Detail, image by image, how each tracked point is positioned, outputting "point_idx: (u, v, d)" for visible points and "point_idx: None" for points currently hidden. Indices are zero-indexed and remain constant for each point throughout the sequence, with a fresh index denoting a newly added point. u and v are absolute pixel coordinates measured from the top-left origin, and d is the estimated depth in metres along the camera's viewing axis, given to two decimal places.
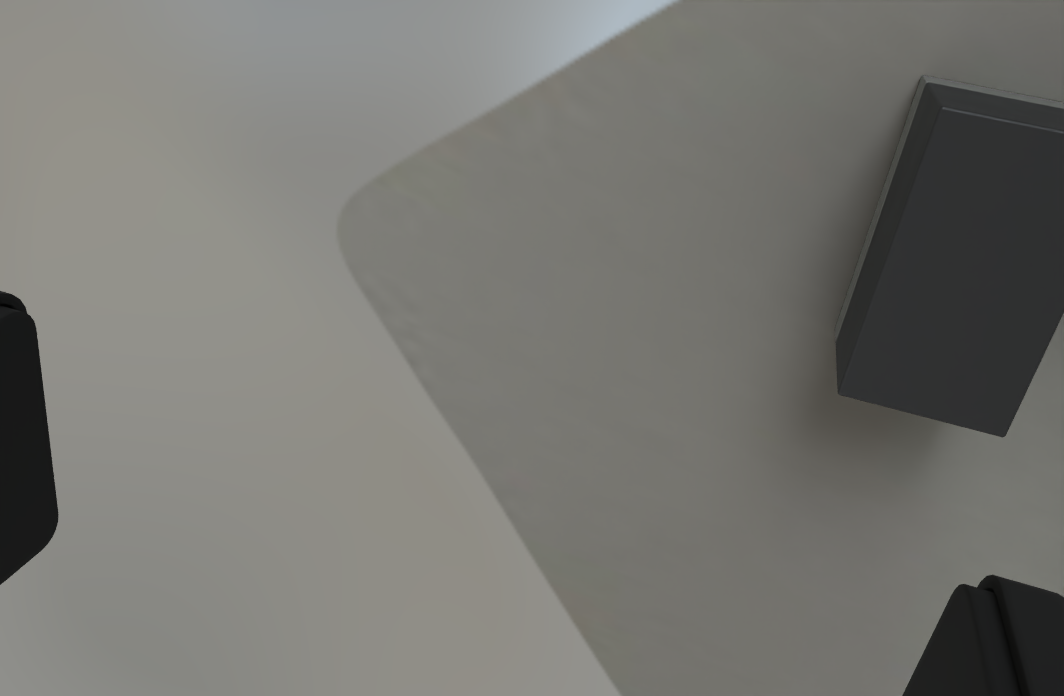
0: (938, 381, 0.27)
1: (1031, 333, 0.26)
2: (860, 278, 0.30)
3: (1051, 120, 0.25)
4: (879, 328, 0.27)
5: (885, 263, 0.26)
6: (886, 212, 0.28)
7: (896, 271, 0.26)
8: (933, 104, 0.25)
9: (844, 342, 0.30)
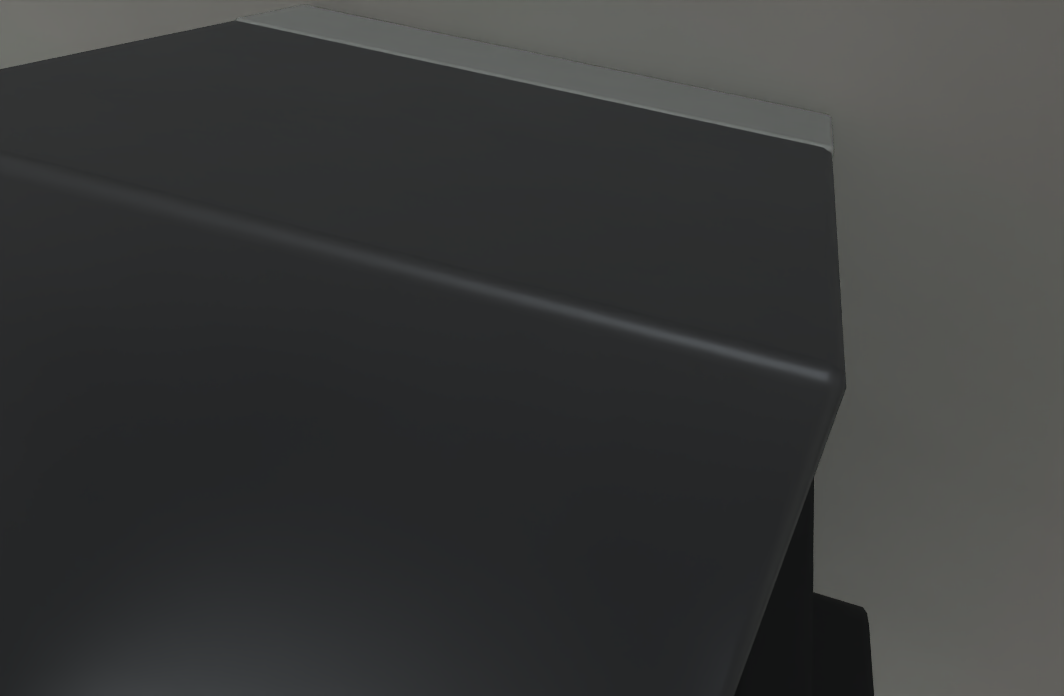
0: None
1: None
2: None
3: (474, 180, 0.05)
4: None
5: None
6: None
7: None
8: None
9: None
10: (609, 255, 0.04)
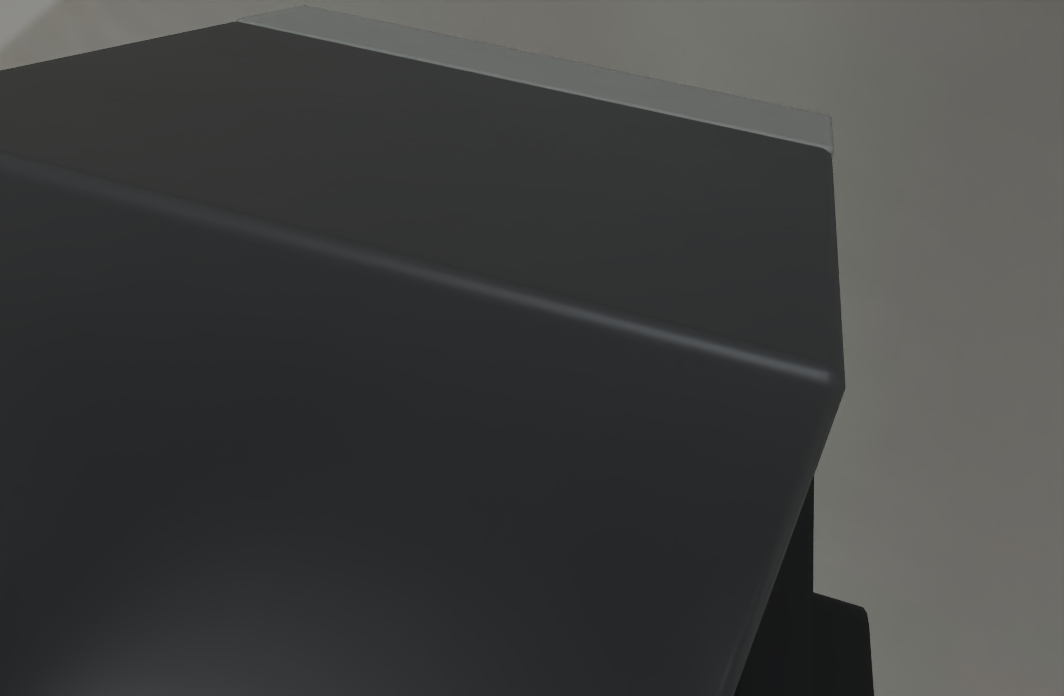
0: None
1: None
2: None
3: (475, 180, 0.05)
4: None
5: None
6: None
7: None
8: None
9: None
10: (611, 255, 0.04)
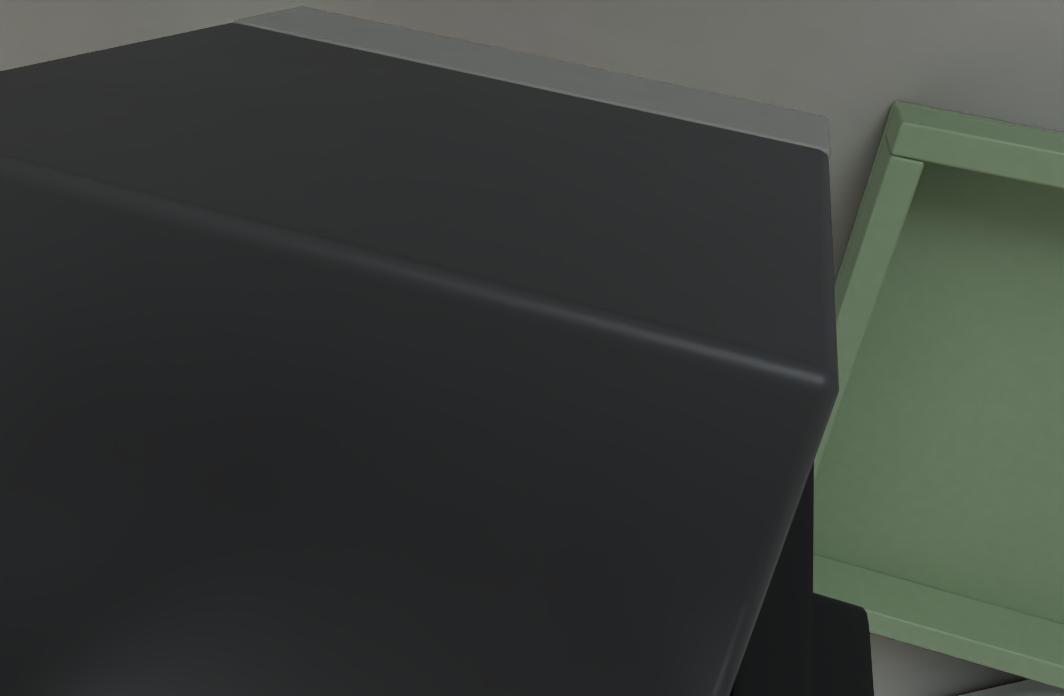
0: None
1: None
2: None
3: (470, 182, 0.05)
4: None
5: None
6: None
7: None
8: None
9: None
10: (605, 257, 0.04)
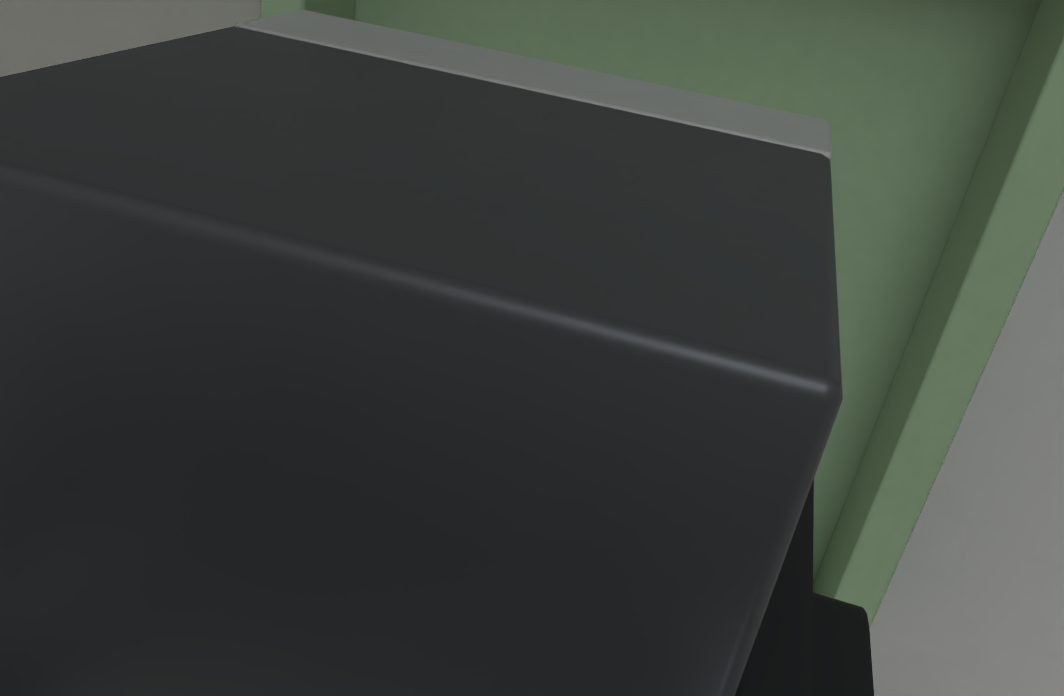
0: None
1: None
2: None
3: (472, 188, 0.05)
4: None
5: None
6: None
7: None
8: None
9: None
10: (607, 266, 0.04)
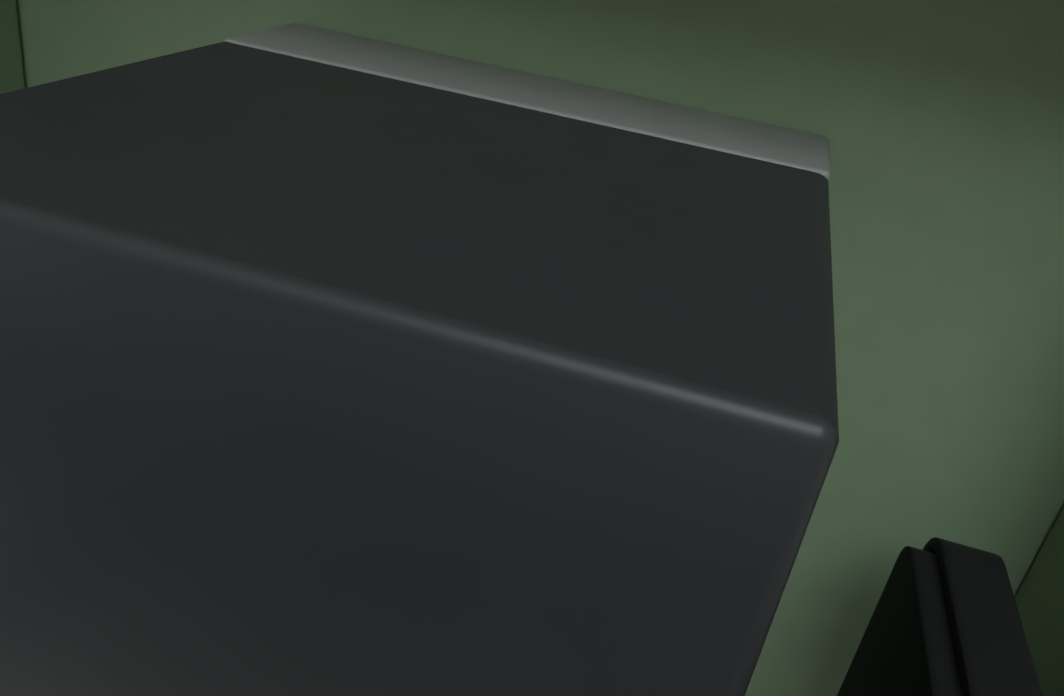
0: None
1: None
2: None
3: (461, 215, 0.05)
4: None
5: None
6: None
7: None
8: None
9: None
10: (596, 297, 0.04)
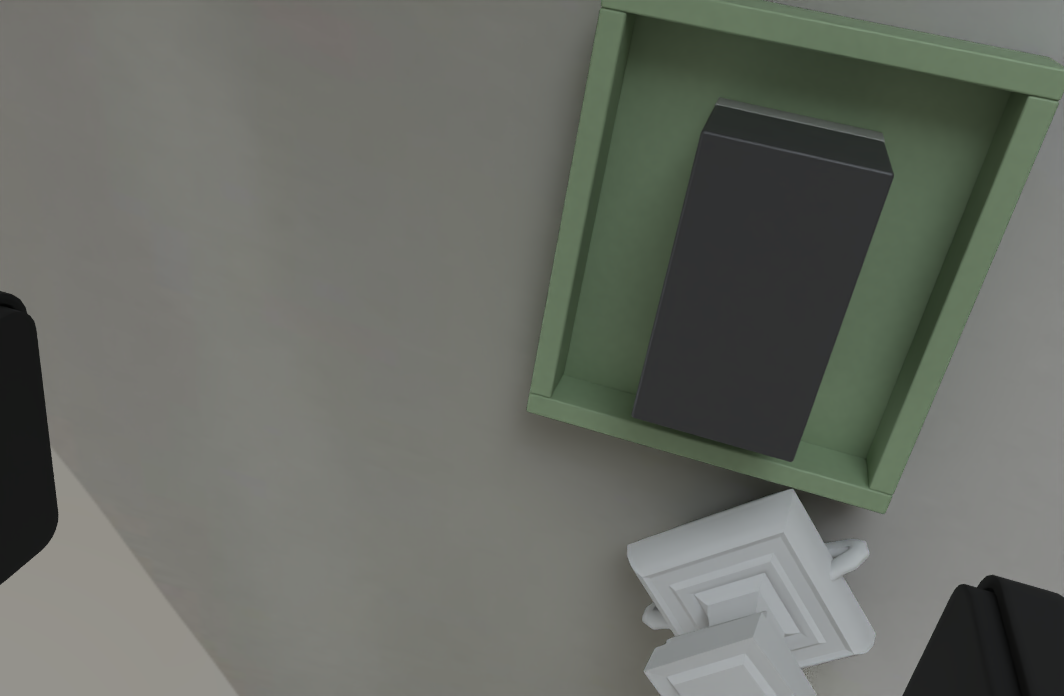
0: (725, 405, 0.27)
1: (807, 358, 0.26)
2: None
3: (817, 145, 0.25)
4: (664, 351, 0.27)
5: (663, 287, 0.26)
6: None
7: (675, 294, 0.26)
8: None
9: None
10: (850, 157, 0.24)
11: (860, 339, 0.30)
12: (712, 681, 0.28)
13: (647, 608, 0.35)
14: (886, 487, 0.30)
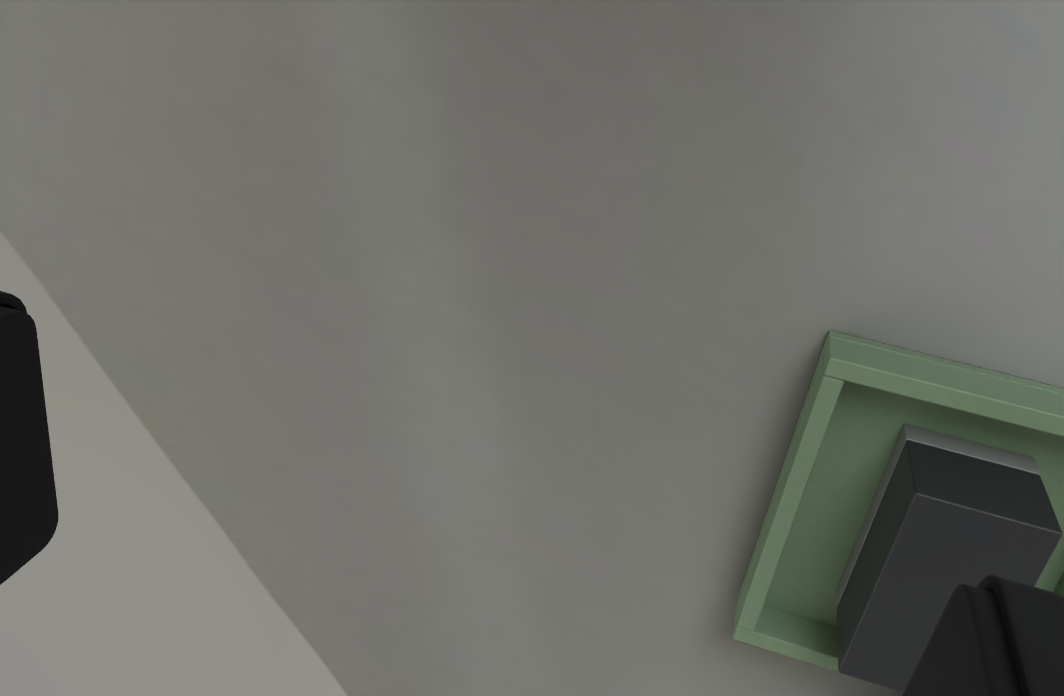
0: None
1: None
2: (856, 570, 0.38)
3: (998, 497, 0.33)
4: (870, 631, 0.35)
5: (874, 589, 0.35)
6: (876, 532, 0.36)
7: (883, 595, 0.35)
8: (910, 480, 0.33)
9: (843, 621, 0.38)
10: (1027, 514, 0.32)
11: None
12: None
13: None
14: None
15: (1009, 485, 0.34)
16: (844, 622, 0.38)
